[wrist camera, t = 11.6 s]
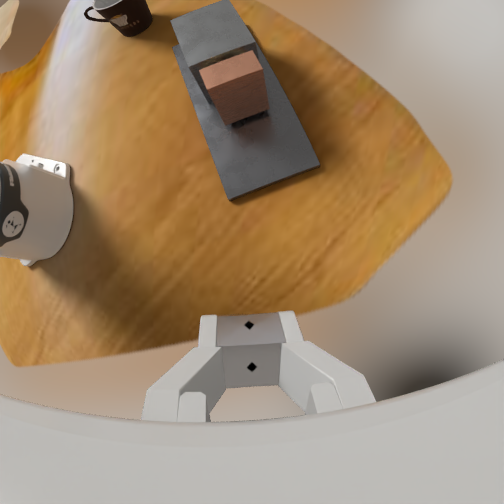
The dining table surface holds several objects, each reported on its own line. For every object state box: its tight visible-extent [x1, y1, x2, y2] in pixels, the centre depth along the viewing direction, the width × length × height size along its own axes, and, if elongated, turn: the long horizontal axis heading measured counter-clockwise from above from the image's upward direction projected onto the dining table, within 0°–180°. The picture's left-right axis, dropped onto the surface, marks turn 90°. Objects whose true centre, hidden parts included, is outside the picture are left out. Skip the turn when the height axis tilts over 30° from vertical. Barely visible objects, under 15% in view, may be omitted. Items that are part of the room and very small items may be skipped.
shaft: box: [199, 50, 269, 126], centre depth 32 cm, size 17×6×9 cm, turn 20°
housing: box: [170, 0, 320, 201], centre depth 33 cm, size 28×12×10 cm, turn 20°
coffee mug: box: [84, 0, 152, 37], centre depth 37 cm, size 12×9×10 cm
